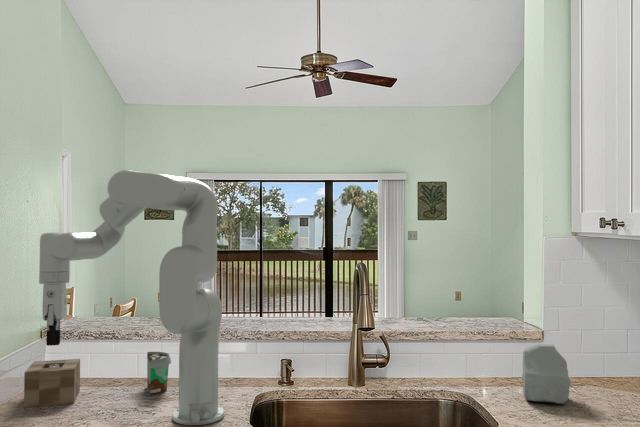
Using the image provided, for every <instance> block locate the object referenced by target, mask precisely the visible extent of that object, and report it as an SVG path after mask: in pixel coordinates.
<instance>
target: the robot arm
mask: <svg viewBox="0 0 640 427" xmlns="http://www.w3.org/2000/svg"><path fill="white" fill-rule="evenodd" d="M106 188H107V193H108V197H107V198H106V199H104V201H102V202H101V203H100V204H99V213H100V217H101V218H102V220H103V222H102V223H101V224H100V225H99V226H98V227H96V229H94V230H93V231H80V232H79V231H78V232H77V231H76V232H75V231H74V232H44V233H42V234H41V235H40V237H39V272H38V273H39V274H38V275H39V276H38V284H40V285H43V288H42V320H43V321H45V322H46V346H59V345H60V344H61V321H63V319H65V318H66V316H67V314H68V297H67V296H68V295H67V284H69V283H70V277H71V276H70V273H71V272H70V270H71V269H70V266H71V265H70V263H71V261H73V262H74V261H81V260H93V259H98V258H100V257H102V256H103V255H106V254H107V253H108V252H109V251H111V249H113V248H114V247H115V246H116V245H117V244H119V242H120V240H121V239H122V237H123V235H124V233H125V229H126V226H127V225H129V224H130V223H131V222H132V221H133V220H134V219H136V218H137V217H138V216H140V214H142V213H143V212H144V211H145V210H146V209H153V210H160V211H161V210H162V211H184V212H185V213H186V215H185V218H184V220H183V222H182V223H183V224H182V228H181V234H182V235H181V246H176V247H173V248H171V249H169V250H168V251H167V252H166V253H165V255H163V258H162V260H161V262H160V265H159V273H158V274H159V276H158V277H159V278H158V279H159V281H158V282H159V283H158V284H159V285H158V286H159V287H158V288H159V289H158V292H159V293H158V296H159V297H158V299H159V300H158V307H159V318H160V321H161V324H162V326H163V327H164V329H166V330H167V331H168V332H170V333H171V334H175V335H180V338H179V347H178V349H179V350H178V352H179V354H178V355H179V356H178V408H177V409H175V410H174V411H173V412H172V414H171V418H172V421H174V422H175V423H177V424H179V425H184V426H202V425H203V426H204V425H209V424H214V423H216V422H218V421H220V420H222V419H223V418H224V416H225V409H224V408H222V407H221V406H220V405H219V347H220V346H219V344H220V343H219V340H220V328H221V323H222V317H223V316H222V314H223V304H222V301H221V298H220V297H219V295H218V294H217V293H216V292H215V291H213V290H211V289H209V288H204V287H202V288H199V287H198V288H197V285H199V284H200V285H201V284H203V283H206V282H209V281H211V280H212V279H213V278H214V277H215V276H216V274H217V270H218V233H217V231H218V210H219V208H218V206H219V205H218V201H217V197H216V195H215V192H214V191H213V190H212V189H211V188H210V187H209V185H207V184H206V183H205V182H202V181H200V180H198V179H195V178H191V177H188V176H187V177H186V176H178V175H172V174H170V175H169V174H164V173H163V174H162V173H152V172H151V173H150V172H145V171H138V170H137V171H136V170H131V169H128V170H127V169H123V170H120V171H117V172H116V173H114V174H113V175H112V176H111V177H110V179H109V180H108V183H107V187H106Z"/></svg>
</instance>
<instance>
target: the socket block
mask: <svg viewBox="0 0 640 427" xmlns="http://www.w3.org/2000/svg"><path fill="white" fill-rule="evenodd" d="M55 364H57V365H59V367H53V368H49V365H53V366H55ZM23 375H24V376H23V378H24V379H23V381H24V383H23V384H24V386H23V388H24V390H23V394H24V395H23V408H30V407H32V408H33V407H34V408H35V407H42V406H55V405H68V404H74V403H75V402H76V400H77V398H78V395H79V394H80V390H81V358H71V359H70V358H69V359H55V360H54V359H53V360H38V361H33V362H32V363H31V364H30V366H28V367H27V369H26V370H25V371H24V374H23Z"/></svg>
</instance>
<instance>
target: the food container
mask: <svg viewBox="0 0 640 427" xmlns="http://www.w3.org/2000/svg"><path fill="white" fill-rule="evenodd" d="M146 359H147V362H146V363H147V364H146V365H147V366H146V367H147V368H146V370H147V371H146V372H147V377H146V378H147V380H146V383H147V385H146V386H147V391H148V390H149V391H148V394H149V396H150V397H153V395H154V396H159V395H161V394H164V393H165V392H167V390H168V379H169V365H170V364H171V363H172V359H171V355H170V354H169V353H167V352H165V351H164V352H162V351H147V355H146ZM158 394H159V395H158Z"/></svg>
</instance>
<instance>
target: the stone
mask: <svg viewBox="0 0 640 427" xmlns="http://www.w3.org/2000/svg"><path fill="white" fill-rule="evenodd" d="M571 385H572V381H571V379H570V376H569V369H568V364H567V360H566V359H565V358H564V357H563V356H562V355H561V353H559V351H558V350H557V348H556V347H555V344H551V343H548V344H546V343H536V344H534V345H531V346H528V347H526V348H524V349H523V350H522V390H523V395H524V398H525V401H529V402H530V401H531V402H539V403H547V404H549V403H550V404H551V403H552V404H559V405H560V404H561V405H564V404H566V402H567V401H568V400H569V396H570V388H571Z"/></svg>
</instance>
